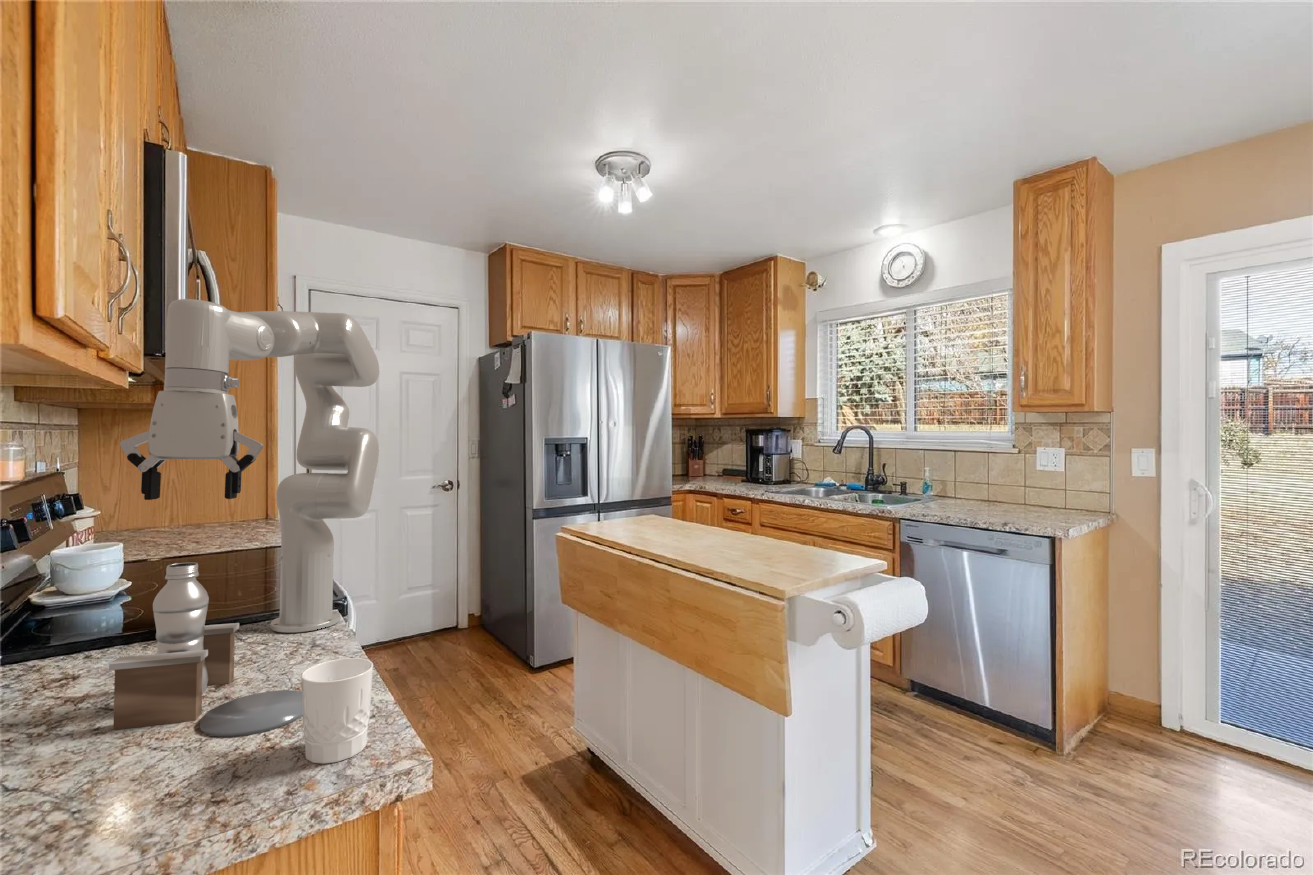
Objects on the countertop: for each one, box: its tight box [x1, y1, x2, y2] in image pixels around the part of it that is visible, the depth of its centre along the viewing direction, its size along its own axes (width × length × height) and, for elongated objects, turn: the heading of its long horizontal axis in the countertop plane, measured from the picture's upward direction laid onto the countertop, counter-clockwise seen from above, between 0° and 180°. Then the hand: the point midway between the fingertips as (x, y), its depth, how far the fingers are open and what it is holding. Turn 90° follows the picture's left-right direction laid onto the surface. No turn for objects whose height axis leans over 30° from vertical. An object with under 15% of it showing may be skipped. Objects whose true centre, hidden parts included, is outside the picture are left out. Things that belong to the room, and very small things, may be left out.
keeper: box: [108, 622, 240, 731], centre depth 86 cm, size 16×10×9 cm, turn 20°
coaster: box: [199, 689, 303, 738], centre depth 82 cm, size 13×13×1 cm
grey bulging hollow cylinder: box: [152, 562, 210, 695], centre depth 86 cm, size 6×7×20 cm
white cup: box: [300, 657, 374, 765], centre depth 73 cm, size 8×8×10 cm
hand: (192, 498), depth 87 cm, fingers open, 9 cm apart
